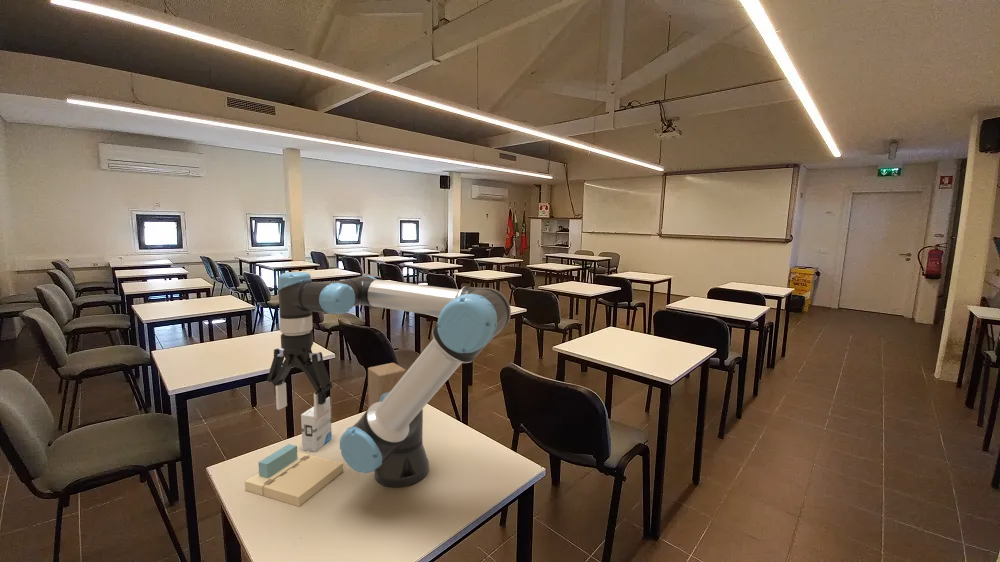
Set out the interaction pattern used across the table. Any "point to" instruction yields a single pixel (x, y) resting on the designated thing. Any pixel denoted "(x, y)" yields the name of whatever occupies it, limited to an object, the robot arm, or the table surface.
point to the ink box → (316, 428)
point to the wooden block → (382, 380)
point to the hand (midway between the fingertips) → (300, 411)
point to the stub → (274, 467)
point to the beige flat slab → (303, 480)
